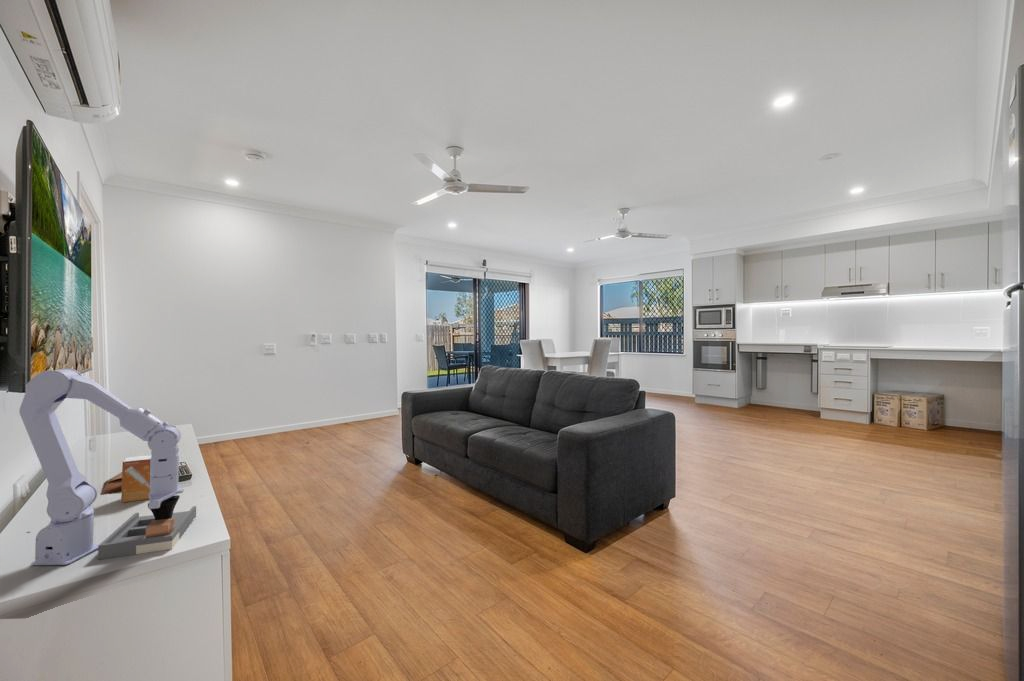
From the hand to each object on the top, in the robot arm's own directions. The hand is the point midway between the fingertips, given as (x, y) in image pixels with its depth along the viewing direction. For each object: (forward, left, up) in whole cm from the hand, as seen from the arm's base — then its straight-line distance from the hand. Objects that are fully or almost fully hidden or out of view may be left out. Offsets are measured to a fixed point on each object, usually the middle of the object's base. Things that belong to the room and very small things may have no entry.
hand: (163, 527), depth 111 cm
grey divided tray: (+2, +4, -3) cm, 5 cm away
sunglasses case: (+43, +46, -4) cm, 63 cm away
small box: (+30, +29, -3) cm, 42 cm away
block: (-3, -1, -1) cm, 4 cm away
